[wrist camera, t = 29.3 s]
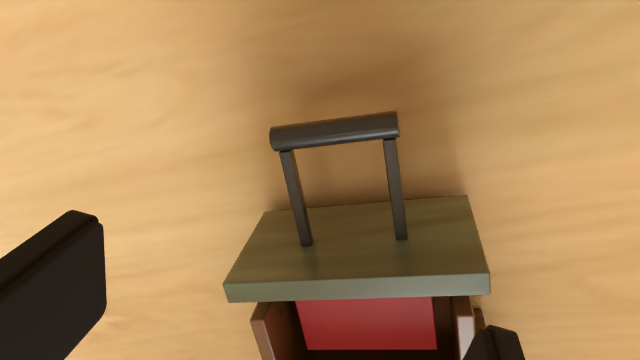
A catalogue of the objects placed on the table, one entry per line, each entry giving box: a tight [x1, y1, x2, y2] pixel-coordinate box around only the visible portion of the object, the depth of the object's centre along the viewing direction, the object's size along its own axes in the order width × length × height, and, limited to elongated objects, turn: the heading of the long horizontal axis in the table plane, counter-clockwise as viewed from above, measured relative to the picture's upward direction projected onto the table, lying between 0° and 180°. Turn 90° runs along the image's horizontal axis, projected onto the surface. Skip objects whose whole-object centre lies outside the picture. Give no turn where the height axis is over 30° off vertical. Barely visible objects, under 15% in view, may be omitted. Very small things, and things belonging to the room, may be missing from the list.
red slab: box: [295, 296, 437, 350], centre depth 26 cm, size 4×8×3 cm, turn 101°
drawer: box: [223, 111, 491, 360], centre depth 24 cm, size 21×12×7 cm, turn 11°
